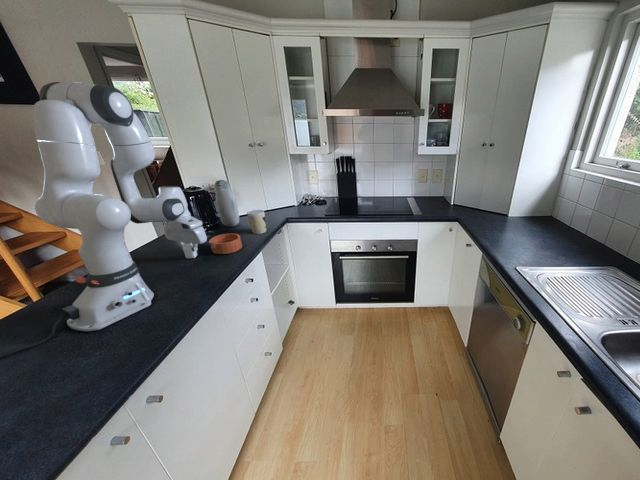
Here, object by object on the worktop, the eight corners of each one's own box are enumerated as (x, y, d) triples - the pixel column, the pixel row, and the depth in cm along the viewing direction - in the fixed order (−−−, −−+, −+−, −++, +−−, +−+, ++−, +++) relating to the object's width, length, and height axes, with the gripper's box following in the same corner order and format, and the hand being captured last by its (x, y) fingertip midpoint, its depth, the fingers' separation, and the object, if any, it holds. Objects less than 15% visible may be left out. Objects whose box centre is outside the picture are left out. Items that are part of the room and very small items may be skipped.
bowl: (229, 256, 131) (225, 245, 128) (205, 253, 134) (202, 242, 131) (248, 245, 143) (246, 234, 140) (226, 242, 146) (224, 232, 143)
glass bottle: (219, 228, 165) (206, 181, 152) (229, 223, 174) (218, 178, 161) (234, 229, 164) (222, 182, 151) (244, 223, 173) (234, 178, 160)
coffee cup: (269, 232, 160) (266, 212, 155) (252, 235, 155) (248, 215, 150) (265, 227, 167) (262, 208, 161) (249, 230, 162) (245, 211, 157)
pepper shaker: (189, 255, 131) (183, 237, 127) (198, 254, 132) (192, 236, 127) (185, 259, 127) (179, 240, 123) (195, 258, 128) (189, 239, 124)
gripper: (155, 222, 121) (166, 250, 127) (192, 226, 117) (201, 255, 123) (169, 217, 127) (178, 245, 133) (205, 221, 122) (213, 249, 128)
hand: (189, 249), depth 128 cm, fingers closed on pepper shaker, 5 cm apart
